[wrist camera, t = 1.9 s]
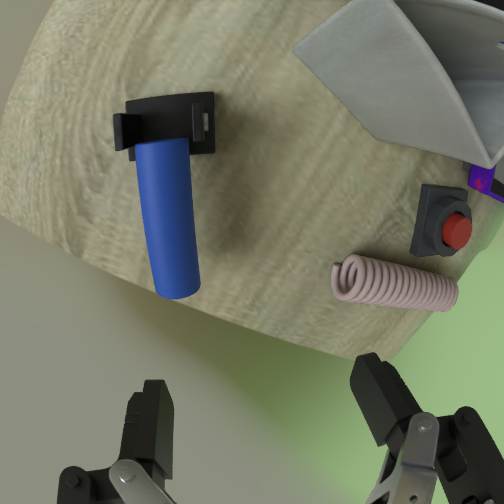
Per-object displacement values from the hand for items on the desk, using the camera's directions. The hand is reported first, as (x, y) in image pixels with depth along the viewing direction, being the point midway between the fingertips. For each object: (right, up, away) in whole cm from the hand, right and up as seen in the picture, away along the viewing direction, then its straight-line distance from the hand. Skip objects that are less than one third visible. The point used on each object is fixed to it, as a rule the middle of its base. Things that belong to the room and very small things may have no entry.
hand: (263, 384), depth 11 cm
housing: (+21, +9, +17) cm, 28 cm away
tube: (-7, +8, +10) cm, 15 cm away
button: (+21, +8, +14) cm, 27 cm away
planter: (+11, +19, +11) cm, 25 cm away
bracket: (-7, +15, +10) cm, 19 cm away
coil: (+16, +3, +19) cm, 25 cm away
